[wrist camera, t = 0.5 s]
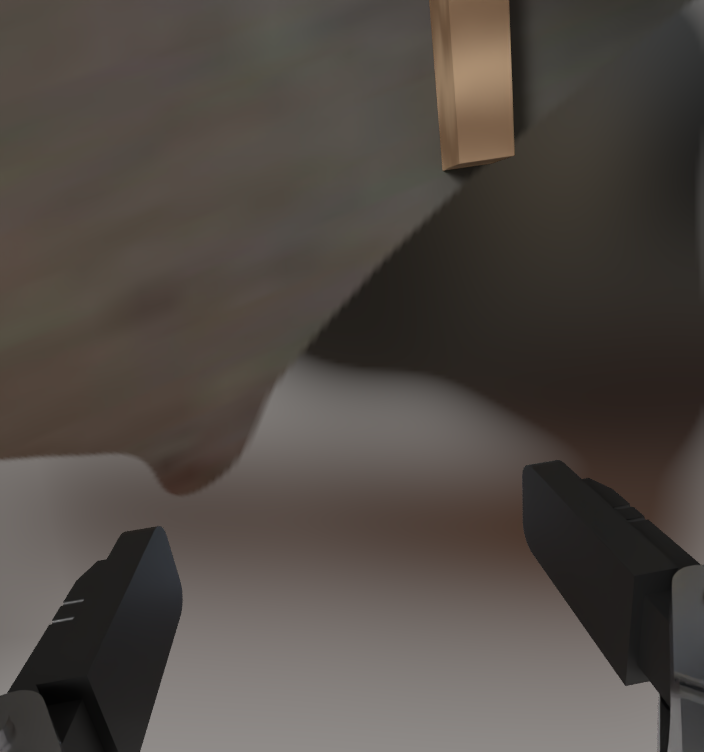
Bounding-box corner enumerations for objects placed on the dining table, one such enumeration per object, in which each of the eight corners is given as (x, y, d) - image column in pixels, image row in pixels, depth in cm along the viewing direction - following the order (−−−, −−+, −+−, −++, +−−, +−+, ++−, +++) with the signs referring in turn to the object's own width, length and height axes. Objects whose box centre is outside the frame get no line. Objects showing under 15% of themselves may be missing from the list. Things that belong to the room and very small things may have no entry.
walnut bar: (418, -118, 28) (436, -172, 25) (475, -124, 29) (502, -179, 25) (441, 171, 33) (459, 163, 29) (490, 164, 33) (514, 155, 30)
